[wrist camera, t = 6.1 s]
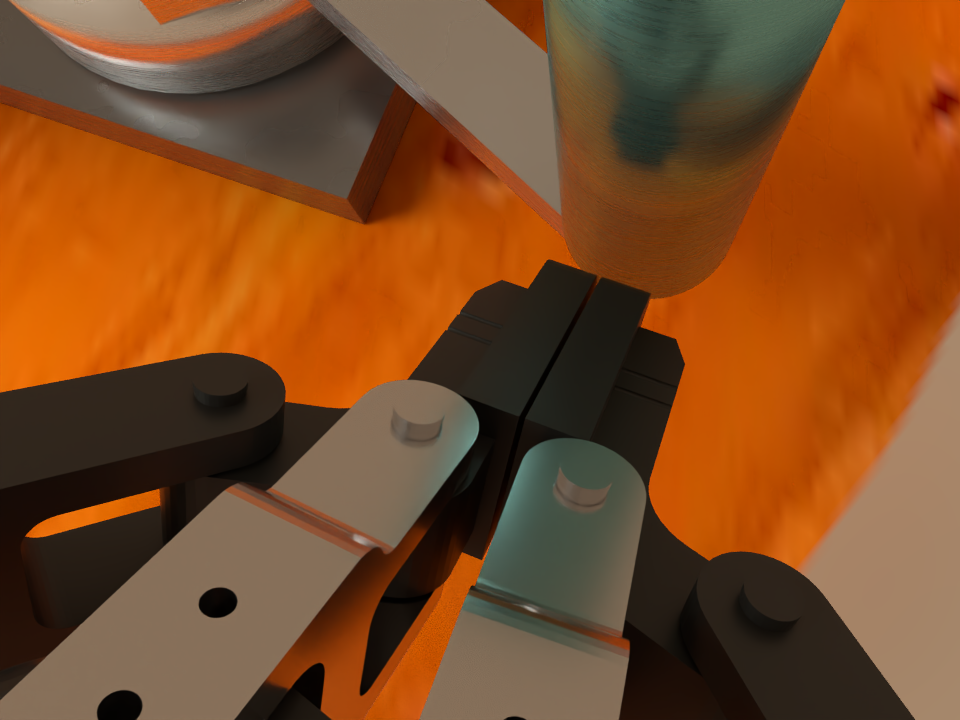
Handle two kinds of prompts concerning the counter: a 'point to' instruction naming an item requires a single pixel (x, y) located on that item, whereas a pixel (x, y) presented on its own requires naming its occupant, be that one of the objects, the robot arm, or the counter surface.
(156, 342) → the counter surface
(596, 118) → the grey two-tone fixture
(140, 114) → the base plate
